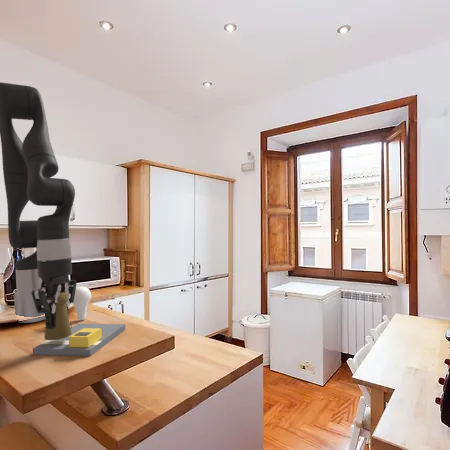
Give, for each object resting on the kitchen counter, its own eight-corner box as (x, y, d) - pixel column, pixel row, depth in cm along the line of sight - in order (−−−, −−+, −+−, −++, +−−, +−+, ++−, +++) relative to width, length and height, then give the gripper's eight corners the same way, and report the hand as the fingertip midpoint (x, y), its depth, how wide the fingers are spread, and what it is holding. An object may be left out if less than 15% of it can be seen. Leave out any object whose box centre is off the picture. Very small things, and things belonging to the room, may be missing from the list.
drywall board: (32, 354, 75) (32, 348, 75) (78, 328, 93) (78, 323, 93) (90, 355, 73) (90, 349, 73) (125, 329, 91) (125, 324, 90)
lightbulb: (96, 318, 102) (94, 285, 102) (78, 324, 97) (77, 289, 97) (84, 316, 105) (83, 284, 105) (67, 321, 100) (66, 287, 100)
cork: (40, 336, 78) (39, 293, 78) (66, 329, 82) (64, 288, 82) (49, 342, 74) (47, 296, 74) (75, 334, 78) (73, 291, 78)
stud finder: (69, 347, 74) (68, 336, 74) (84, 337, 80) (83, 327, 80) (88, 347, 74) (88, 336, 74) (102, 338, 80) (101, 327, 80)
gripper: (59, 254, 86) (62, 316, 86) (18, 261, 71) (22, 335, 72) (85, 253, 84) (87, 316, 85) (48, 260, 70) (51, 335, 71)
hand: (57, 324), depth 78 cm, fingers closed on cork, 4 cm apart
